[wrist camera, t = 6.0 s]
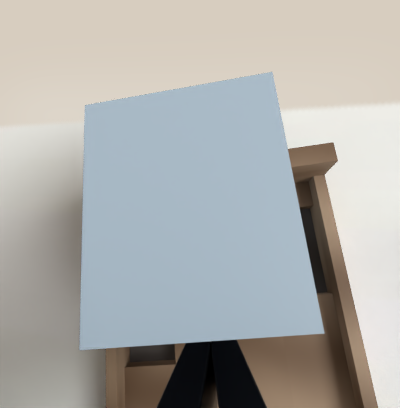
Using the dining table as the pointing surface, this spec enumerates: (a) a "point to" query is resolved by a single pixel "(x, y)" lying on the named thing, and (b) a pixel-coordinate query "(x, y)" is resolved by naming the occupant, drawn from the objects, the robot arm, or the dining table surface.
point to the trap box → (285, 345)
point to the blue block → (192, 220)
